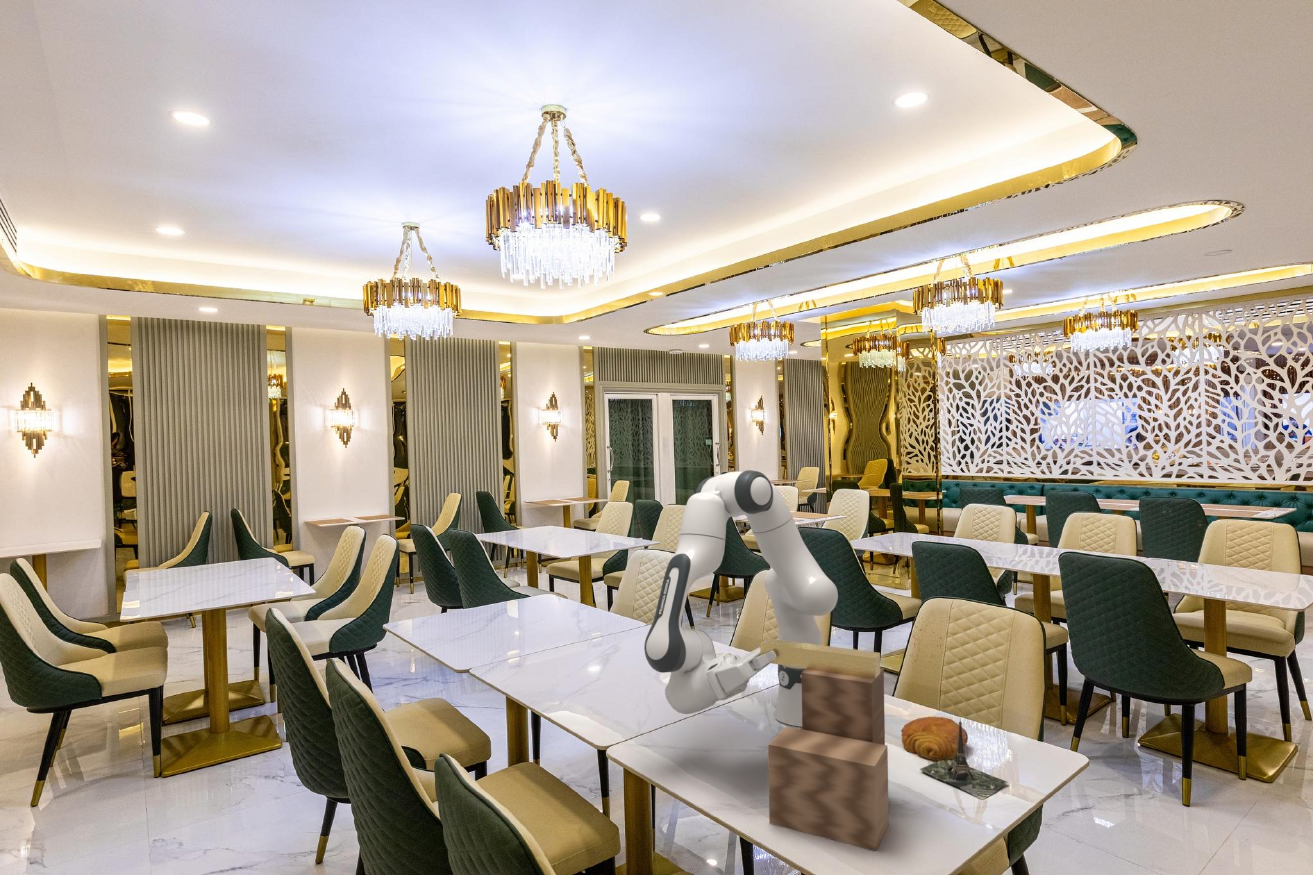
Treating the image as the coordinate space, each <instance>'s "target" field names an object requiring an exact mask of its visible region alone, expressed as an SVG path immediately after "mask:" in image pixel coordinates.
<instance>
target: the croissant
mask: <svg viewBox="0 0 1313 875" xmlns="http://www.w3.org/2000/svg"><path fill="white" fill-rule="evenodd" d="M900 732H901V744H902V746H903V747H904V749H905V750H906V751H907V752H909V753H911V754H912V755H918V756H920V757H922V758H925V759H927V760H931V761H932V760H933V761H935V762H938V761H940V760H946V759H950V760H953V759H955V756H956V753H957V752H956V751H957V749H958V739H959V723H957V722H955V720H953V719H952V718H947V717H943V716H925V717H919V718H916V719H913V720H911V721H909V722H907V723H906V724H904V726H903V727H902V728H901V730H900ZM962 739H963V748H964V749H965V747H966V746H967V743H968V741H969V740H968V739H969V735H968V732H967V731H966V729H965V728H964V727H962Z"/></svg>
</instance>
